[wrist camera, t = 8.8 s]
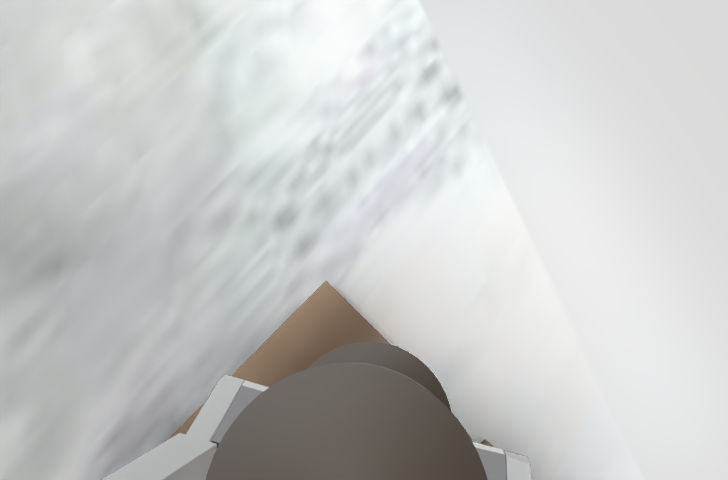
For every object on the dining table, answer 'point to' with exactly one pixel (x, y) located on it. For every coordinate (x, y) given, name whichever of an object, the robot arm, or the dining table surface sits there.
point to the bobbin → (350, 424)
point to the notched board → (305, 341)
